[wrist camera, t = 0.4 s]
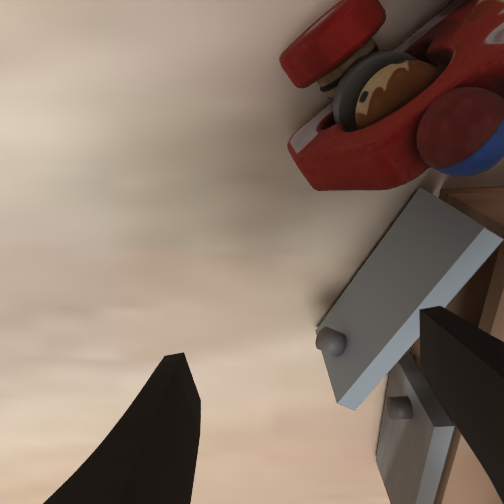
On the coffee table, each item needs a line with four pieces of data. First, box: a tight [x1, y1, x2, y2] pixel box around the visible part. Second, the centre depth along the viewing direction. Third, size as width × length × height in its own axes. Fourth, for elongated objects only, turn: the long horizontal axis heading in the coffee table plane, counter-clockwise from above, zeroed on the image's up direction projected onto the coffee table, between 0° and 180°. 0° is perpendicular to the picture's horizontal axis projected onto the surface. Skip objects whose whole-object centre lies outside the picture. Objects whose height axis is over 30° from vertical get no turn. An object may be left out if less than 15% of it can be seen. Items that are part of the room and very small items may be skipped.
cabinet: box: [376, 187, 504, 504], centre depth 21 cm, size 12×20×6 cm, turn 2°
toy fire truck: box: [279, 0, 504, 191], centre depth 12 cm, size 7×12×10 cm, turn 129°
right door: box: [316, 187, 504, 410], centre depth 18 cm, size 2×10×6 cm, turn 151°
